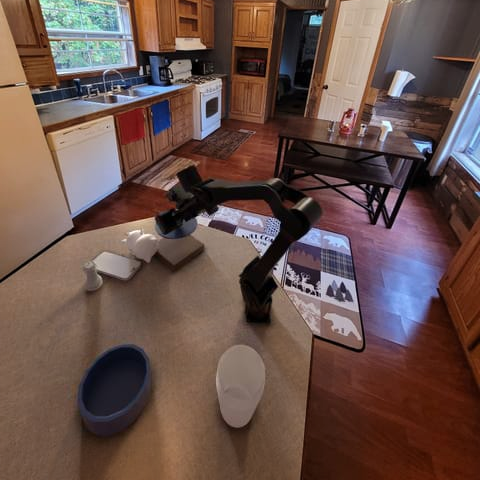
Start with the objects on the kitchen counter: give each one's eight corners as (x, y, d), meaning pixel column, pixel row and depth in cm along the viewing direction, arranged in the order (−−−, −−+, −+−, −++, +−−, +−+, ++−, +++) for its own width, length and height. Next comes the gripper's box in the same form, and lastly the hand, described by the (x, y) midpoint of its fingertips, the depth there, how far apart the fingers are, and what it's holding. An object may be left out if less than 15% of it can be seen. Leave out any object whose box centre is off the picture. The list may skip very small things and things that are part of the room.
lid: (201, 236, 81) (201, 220, 78) (156, 244, 76) (155, 227, 73) (193, 212, 92) (193, 197, 90) (154, 218, 87) (152, 203, 85)
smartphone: (104, 250, 84) (142, 262, 81) (104, 253, 85) (142, 264, 81) (85, 266, 78) (126, 279, 74) (86, 269, 78) (127, 282, 75)
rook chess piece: (81, 288, 72) (76, 267, 69) (95, 276, 76) (90, 256, 73) (93, 294, 70) (88, 273, 67) (106, 282, 74) (102, 261, 71)
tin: (158, 358, 57) (157, 344, 55) (139, 436, 46) (137, 421, 44) (101, 357, 56) (98, 343, 55) (67, 436, 45) (62, 422, 43)
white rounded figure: (125, 224, 84) (149, 238, 78) (148, 225, 93) (172, 237, 87) (115, 250, 83) (139, 266, 77) (140, 248, 92) (163, 262, 86)
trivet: (204, 249, 89) (204, 244, 88) (174, 271, 80) (174, 265, 79) (180, 232, 96) (180, 227, 95) (150, 251, 87) (149, 245, 86)
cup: (256, 443, 46) (263, 408, 41) (208, 428, 47) (210, 392, 42) (262, 385, 54) (268, 350, 49) (221, 373, 55) (223, 338, 51)
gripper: (206, 170, 81) (184, 188, 92) (156, 191, 68) (137, 209, 78) (223, 201, 80) (199, 215, 90) (176, 228, 66) (153, 242, 77)
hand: (174, 219), depth 84 cm, fingers closed on lid, 2 cm apart
